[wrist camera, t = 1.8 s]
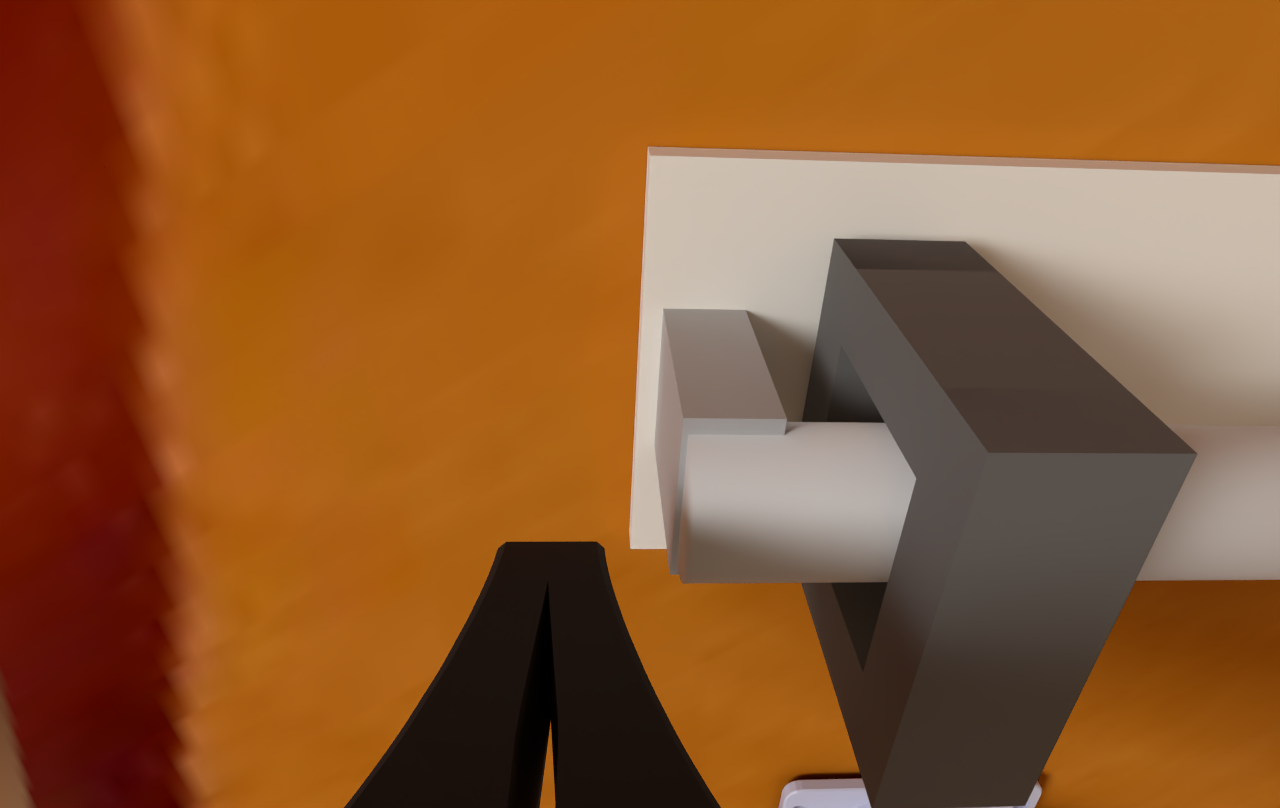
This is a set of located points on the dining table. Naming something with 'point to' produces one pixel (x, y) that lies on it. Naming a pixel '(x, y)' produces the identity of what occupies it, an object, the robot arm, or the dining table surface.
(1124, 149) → the dining table surface
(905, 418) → the grey square collar
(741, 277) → the pipe rail
